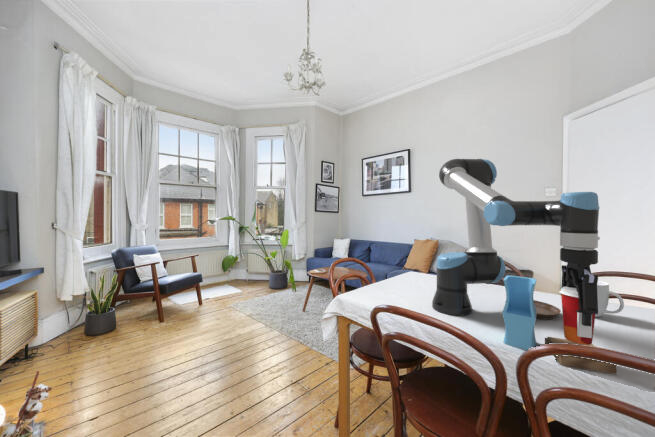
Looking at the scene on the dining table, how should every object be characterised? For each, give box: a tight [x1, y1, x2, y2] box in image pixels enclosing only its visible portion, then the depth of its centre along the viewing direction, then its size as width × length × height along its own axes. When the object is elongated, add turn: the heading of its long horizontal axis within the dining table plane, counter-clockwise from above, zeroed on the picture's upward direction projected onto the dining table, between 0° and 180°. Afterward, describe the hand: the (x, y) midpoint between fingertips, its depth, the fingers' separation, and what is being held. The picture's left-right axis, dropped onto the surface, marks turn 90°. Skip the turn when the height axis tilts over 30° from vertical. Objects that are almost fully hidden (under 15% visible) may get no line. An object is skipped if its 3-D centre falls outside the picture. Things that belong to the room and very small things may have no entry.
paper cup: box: [558, 286, 596, 345], centre depth 72 cm, size 8×8×14 cm
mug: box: [595, 280, 625, 318], centre depth 102 cm, size 15×11×13 cm
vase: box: [502, 274, 537, 351], centre depth 81 cm, size 8×8×20 cm
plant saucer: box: [505, 299, 562, 320], centre depth 106 cm, size 18×18×3 cm
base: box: [544, 336, 617, 375], centre depth 72 cm, size 11×11×3 cm
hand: (577, 330), depth 72 cm, fingers closed on paper cup, 6 cm apart
